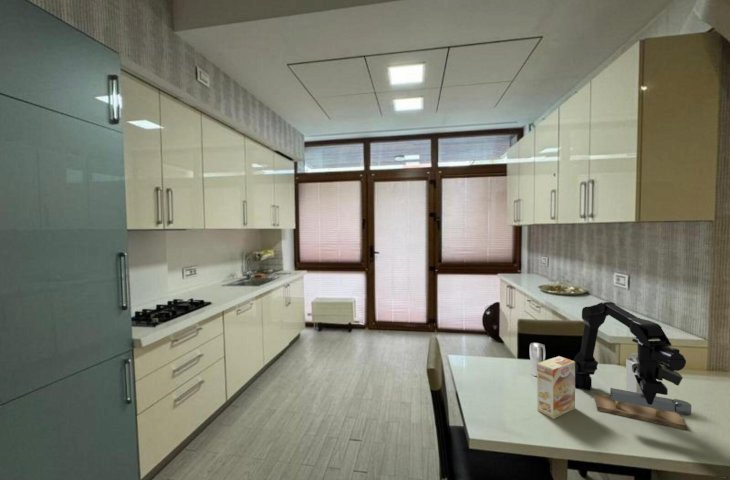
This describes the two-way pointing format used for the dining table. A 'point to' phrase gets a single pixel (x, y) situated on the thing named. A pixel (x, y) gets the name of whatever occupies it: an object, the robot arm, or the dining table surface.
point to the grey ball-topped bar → (658, 402)
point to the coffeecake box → (556, 386)
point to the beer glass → (536, 356)
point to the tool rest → (638, 411)
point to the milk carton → (631, 375)
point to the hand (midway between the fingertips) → (648, 401)
